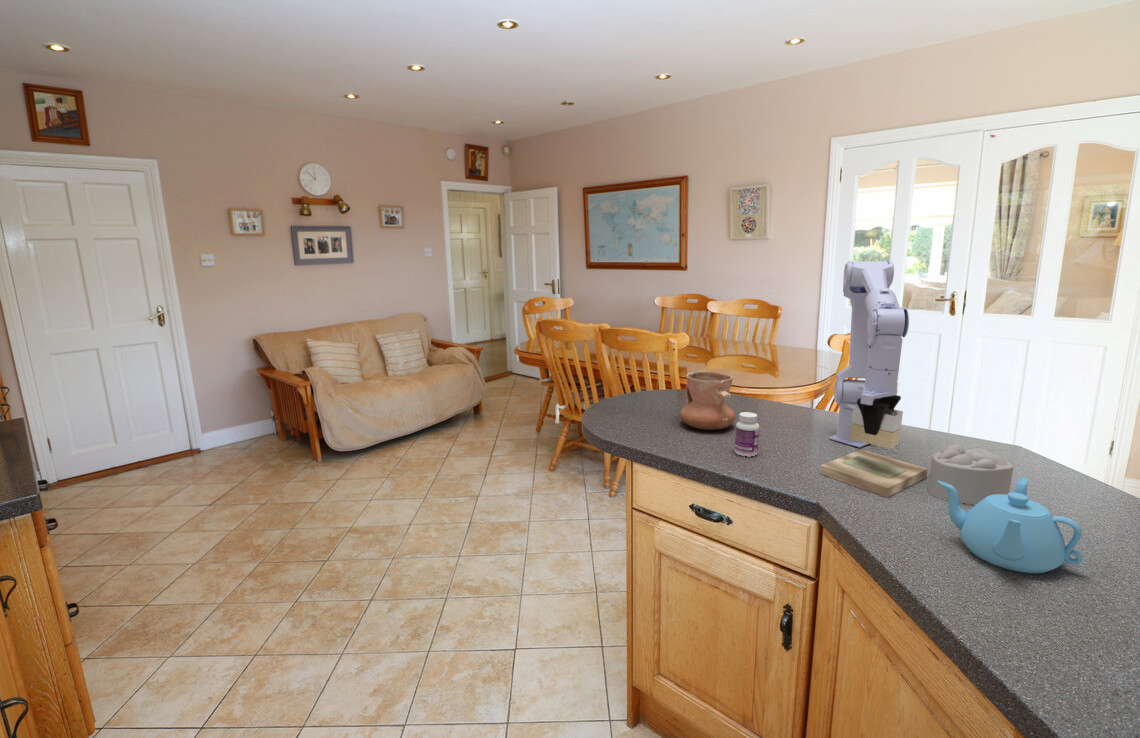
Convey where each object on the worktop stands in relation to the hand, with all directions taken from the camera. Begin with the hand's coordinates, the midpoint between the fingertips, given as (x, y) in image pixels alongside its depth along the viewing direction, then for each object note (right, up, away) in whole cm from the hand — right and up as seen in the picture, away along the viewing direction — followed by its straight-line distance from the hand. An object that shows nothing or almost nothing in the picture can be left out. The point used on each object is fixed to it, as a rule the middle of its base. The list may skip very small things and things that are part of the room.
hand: (875, 431), depth 114 cm
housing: (0, -2, +1) cm, 2 cm away
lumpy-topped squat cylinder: (+14, -12, -7) cm, 19 cm away
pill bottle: (-22, -7, +16) cm, 28 cm away
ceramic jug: (-27, -3, +36) cm, 45 cm away
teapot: (+5, -17, -27) cm, 32 cm away
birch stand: (0, -10, +2) cm, 10 cm away
